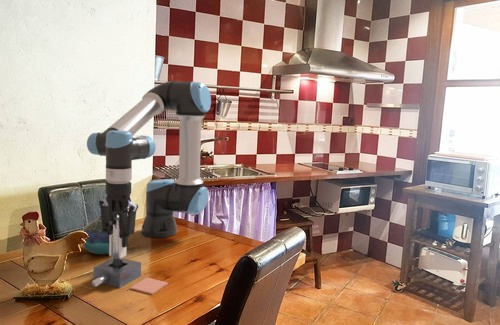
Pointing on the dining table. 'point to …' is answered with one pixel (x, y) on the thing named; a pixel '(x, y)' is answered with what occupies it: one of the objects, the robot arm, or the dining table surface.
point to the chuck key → (116, 243)
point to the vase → (96, 238)
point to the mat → (149, 286)
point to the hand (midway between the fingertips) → (117, 255)
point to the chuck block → (116, 273)
